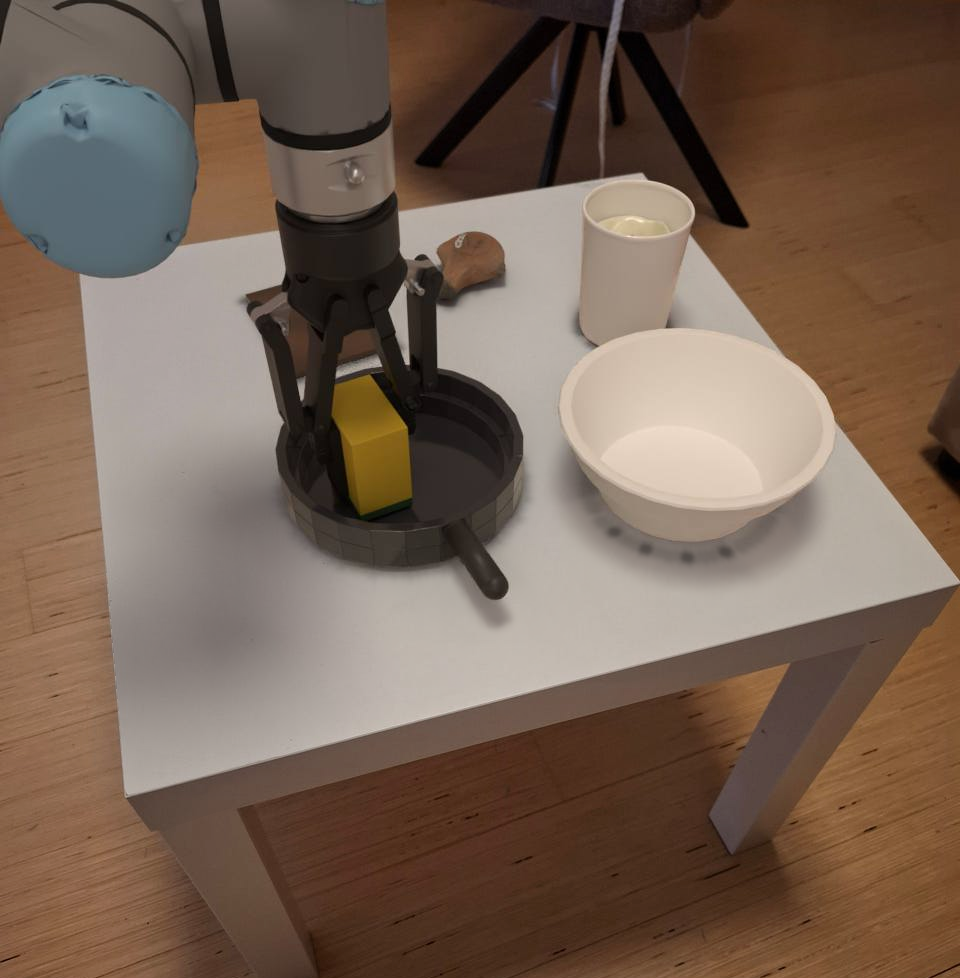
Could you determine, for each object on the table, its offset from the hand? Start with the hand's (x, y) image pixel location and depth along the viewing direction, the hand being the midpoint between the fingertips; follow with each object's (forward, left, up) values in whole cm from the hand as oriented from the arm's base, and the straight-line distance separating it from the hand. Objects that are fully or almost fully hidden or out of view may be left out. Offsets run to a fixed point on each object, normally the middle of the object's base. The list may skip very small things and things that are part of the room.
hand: (368, 475), depth 76 cm
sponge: (0, 0, -1) cm, 1 cm away
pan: (0, +3, -2) cm, 4 cm away
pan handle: (+13, +3, 0) cm, 13 cm away
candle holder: (-10, +31, -2) cm, 33 cm away
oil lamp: (-24, +21, -2) cm, 32 cm away
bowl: (+11, +23, -2) cm, 26 cm away
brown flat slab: (-24, +5, -2) cm, 25 cm away
